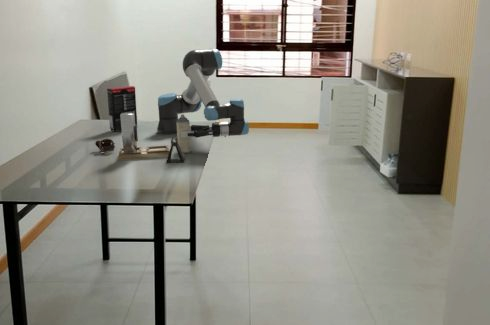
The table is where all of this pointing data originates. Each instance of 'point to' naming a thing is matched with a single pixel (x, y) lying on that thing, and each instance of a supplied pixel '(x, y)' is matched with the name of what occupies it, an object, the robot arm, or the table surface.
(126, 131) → the metal canister
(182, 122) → the aerosol can
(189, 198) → the table surface
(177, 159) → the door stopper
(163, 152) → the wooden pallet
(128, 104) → the graphics card box
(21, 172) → the table surface
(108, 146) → the brown curved piece
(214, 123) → the robot arm
